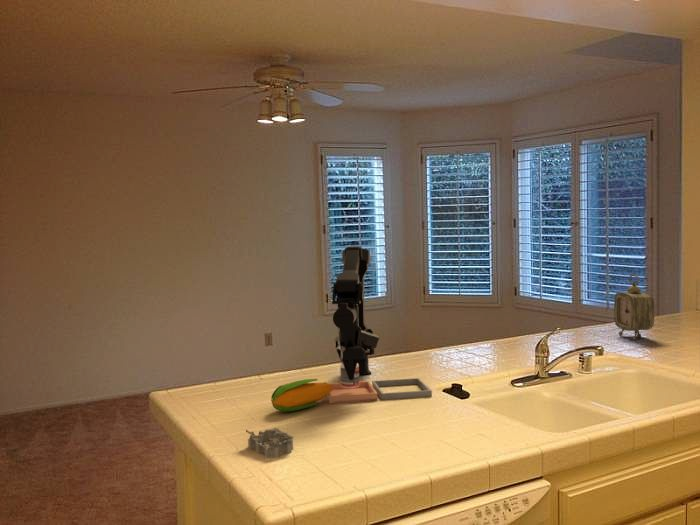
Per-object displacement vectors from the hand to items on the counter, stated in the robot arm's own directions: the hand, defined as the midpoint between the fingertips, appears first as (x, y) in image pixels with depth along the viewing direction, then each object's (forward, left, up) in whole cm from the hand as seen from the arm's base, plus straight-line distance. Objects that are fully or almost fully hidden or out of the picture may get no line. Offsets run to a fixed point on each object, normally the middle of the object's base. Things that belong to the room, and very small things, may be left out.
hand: (349, 377), depth 184 cm
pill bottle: (0, 0, -3) cm, 3 cm away
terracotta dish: (0, 0, -5) cm, 5 cm away
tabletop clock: (-54, +121, -5) cm, 132 cm away
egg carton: (+38, -23, -6) cm, 45 cm away
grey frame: (-1, +15, -5) cm, 16 cm away
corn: (+8, -14, -5) cm, 17 cm away
